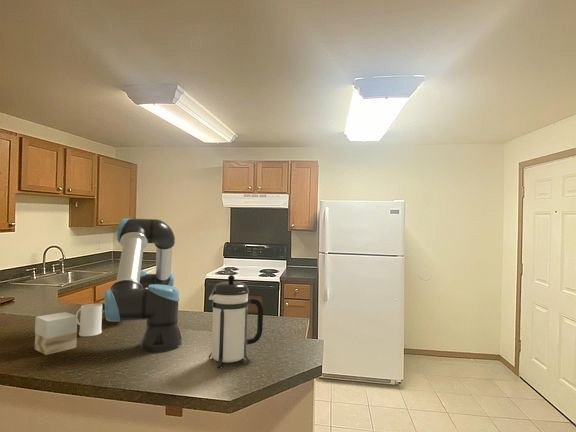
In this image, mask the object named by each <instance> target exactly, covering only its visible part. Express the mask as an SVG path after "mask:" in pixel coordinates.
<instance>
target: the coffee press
mask: <svg viewBox="0 0 576 432" xmlns="http://www.w3.org/2000/svg"><path fill="white" fill-rule="evenodd" d="M227 279H228V281H220V282H218V283H217V284H215V286H214V288H213V289H212V292H211V293H210V294H209V297H208V300H210V301H211V300H212V322H211V323H212V327H211V329H212V330H211V352H210V354H209V355H208V359H209V358H210V357H212V358H213V359H212V360H214V361H217V365H216V368H217V369H219V368H221V367H222V368H223V367H224V365H225V363H234V362H235V363H236V362H239V361H241V362H242V363H243V364H244V365H248V364H249V362H250V360H249V358H248V356H247V347H248V345H253V344H255V343H257V342H258V341H259V340H260V339H261V337H262V336H263V335H262V334H263V329H264V328H263V325H264V324H263V323H264V322H263V321H264V319H263V318H264V309H263V305H262V303H261V302H260V301H259V300H258V299H256V298H250V299H249V293H250V289H249V288H248V285H247V284H245V283H244V282H241V281H235V276H234V275H233V274H230V275H229V276H228V277H227ZM249 304H250V305H255V306H256V308H257V319H256V320H257V321H256V322H257V326H256V328H257V329H256V334H255V336H254V337H252V338H247V337H248V335H247V333H248V332H247V331H248V308H249V307H248V306H249ZM245 363H246V364H245Z"/></svg>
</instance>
